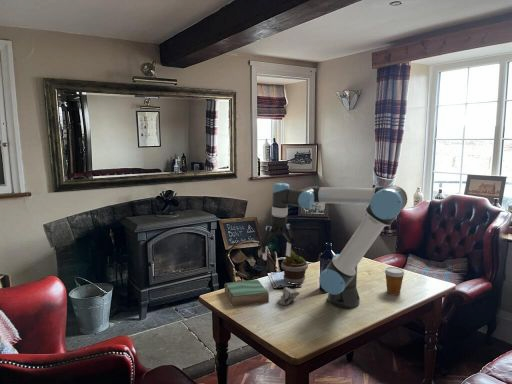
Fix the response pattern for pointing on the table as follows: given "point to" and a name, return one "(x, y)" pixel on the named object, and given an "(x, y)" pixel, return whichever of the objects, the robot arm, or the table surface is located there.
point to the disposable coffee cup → (394, 280)
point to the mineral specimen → (288, 296)
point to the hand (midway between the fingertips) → (276, 257)
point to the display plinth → (246, 293)
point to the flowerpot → (294, 268)
